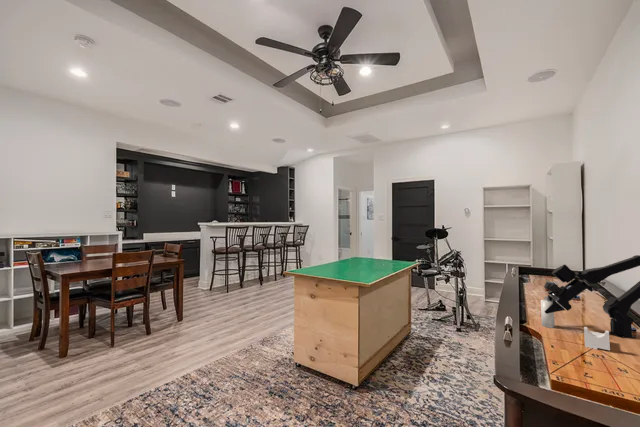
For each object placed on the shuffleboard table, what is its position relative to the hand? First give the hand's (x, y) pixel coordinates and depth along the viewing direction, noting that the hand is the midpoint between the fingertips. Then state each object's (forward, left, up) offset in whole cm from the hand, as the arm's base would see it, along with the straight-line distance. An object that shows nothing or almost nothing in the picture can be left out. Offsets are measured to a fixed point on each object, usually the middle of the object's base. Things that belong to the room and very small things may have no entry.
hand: (543, 310), depth 142 cm
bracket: (-23, -5, -8) cm, 25 cm away
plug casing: (-1, -1, -7) cm, 7 cm away
